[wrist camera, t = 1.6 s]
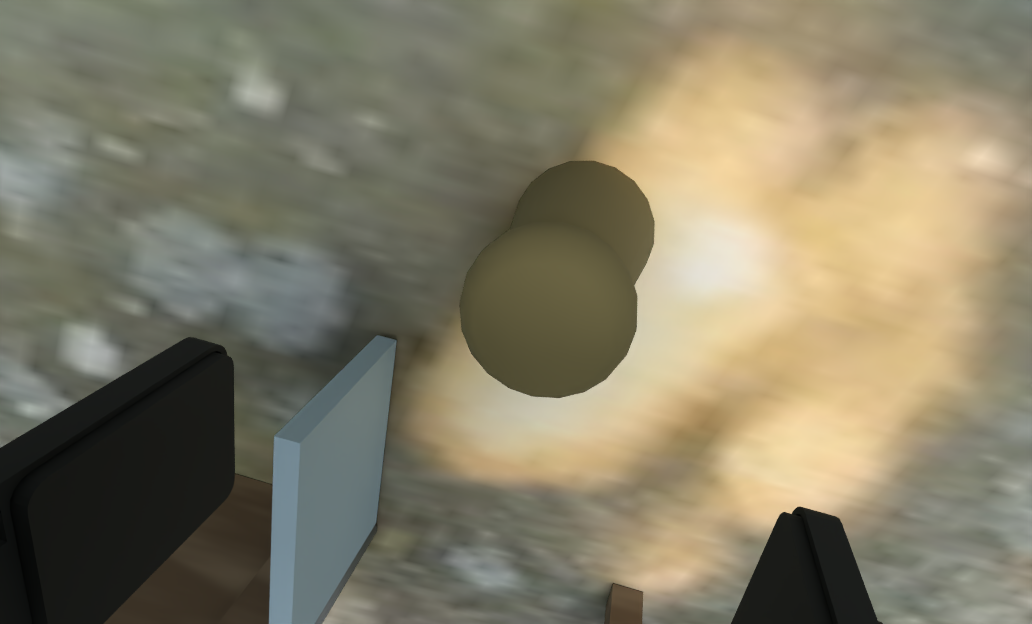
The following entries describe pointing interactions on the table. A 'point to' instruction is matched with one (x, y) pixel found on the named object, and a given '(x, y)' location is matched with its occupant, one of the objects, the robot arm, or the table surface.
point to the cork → (560, 282)
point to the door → (328, 486)
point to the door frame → (248, 571)
